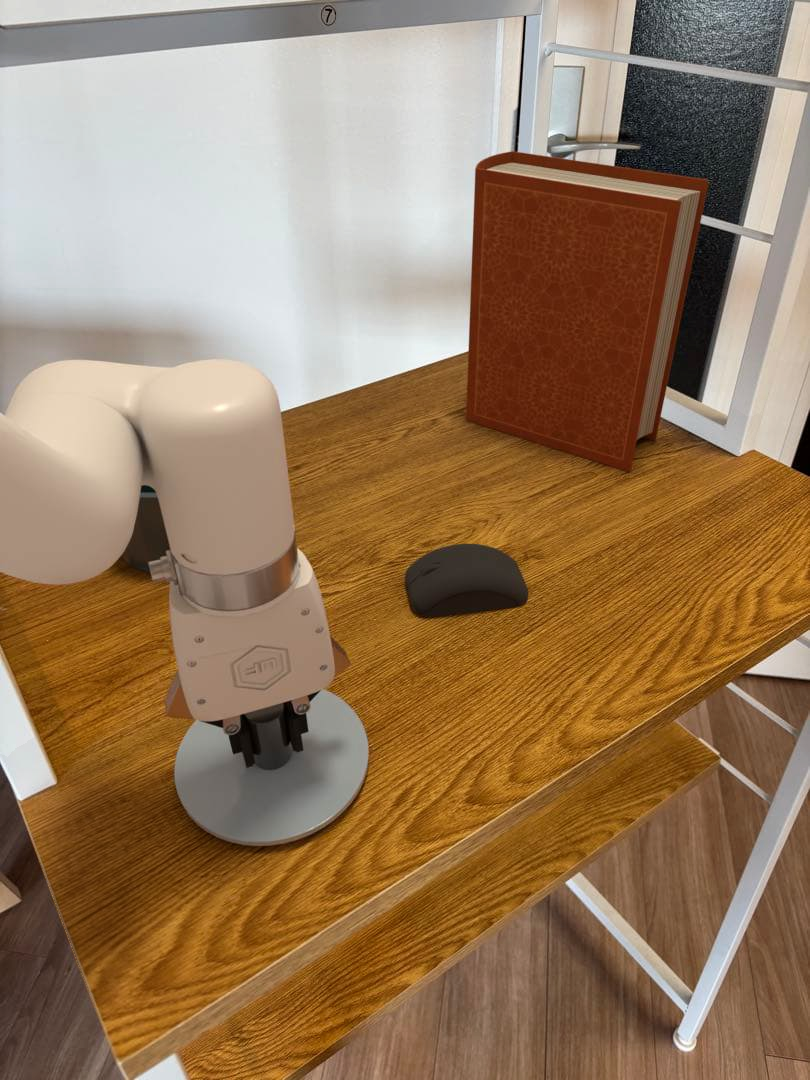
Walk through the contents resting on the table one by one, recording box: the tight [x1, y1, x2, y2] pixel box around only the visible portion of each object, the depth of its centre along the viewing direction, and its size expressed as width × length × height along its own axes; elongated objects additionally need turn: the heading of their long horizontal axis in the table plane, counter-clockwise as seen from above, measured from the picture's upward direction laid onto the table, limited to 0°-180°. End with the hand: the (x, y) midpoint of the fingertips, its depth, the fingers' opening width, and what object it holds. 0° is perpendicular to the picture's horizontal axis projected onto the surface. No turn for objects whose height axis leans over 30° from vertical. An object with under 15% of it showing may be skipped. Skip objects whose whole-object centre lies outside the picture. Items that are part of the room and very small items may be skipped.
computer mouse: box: [404, 543, 529, 618], centre depth 79 cm, size 6×11×4 cm, turn 99°
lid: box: [173, 688, 370, 847], centre depth 62 cm, size 15×15×7 cm
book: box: [465, 150, 710, 473], centre depth 94 cm, size 23×8×30 cm, turn 56°
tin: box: [120, 485, 171, 574], centre depth 84 cm, size 14×14×10 cm
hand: (270, 743), depth 63 cm, fingers closed on lid, 3 cm apart
